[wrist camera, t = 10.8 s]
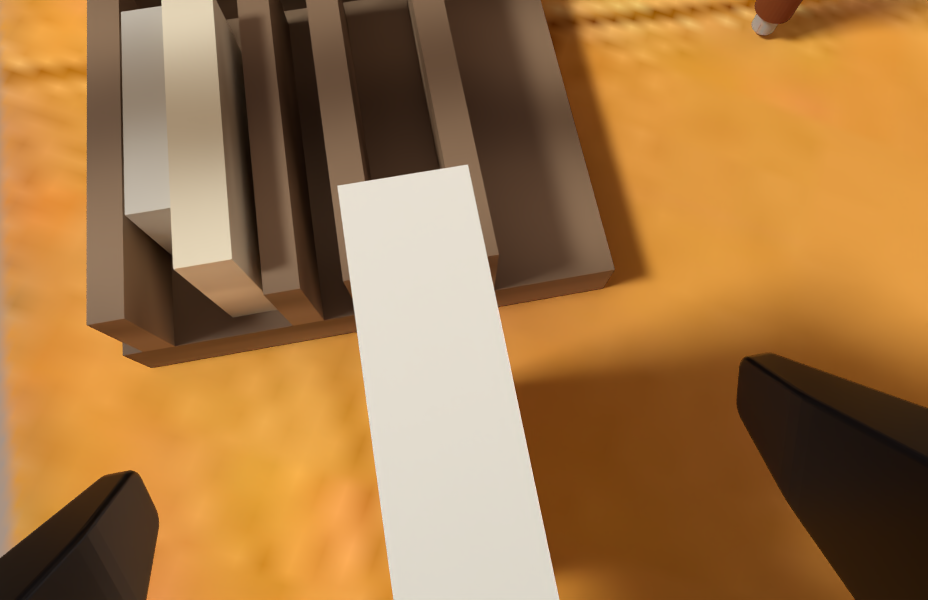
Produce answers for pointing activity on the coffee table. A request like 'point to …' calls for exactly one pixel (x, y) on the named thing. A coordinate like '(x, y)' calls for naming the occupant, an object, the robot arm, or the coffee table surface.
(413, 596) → the white flat board
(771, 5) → the magnifying glass
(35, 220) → the coffee table surface
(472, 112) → the offcut rack
